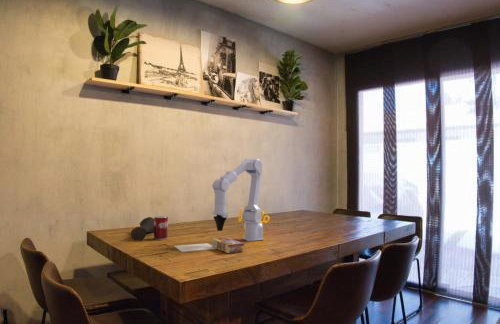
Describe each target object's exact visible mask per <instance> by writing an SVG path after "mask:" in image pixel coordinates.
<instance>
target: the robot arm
mask: <svg viewBox="0 0 500 324" xmlns="http://www.w3.org/2000/svg"><path fill="white" fill-rule="evenodd" d="M263 165H264V164H263V163H262V161H261V159H260V158H256V159H253V158H252V159H247V158H245V159H244V160H243V161H241V163H240V164H239V165H238V166H236V168H234V169H233V170H228V171H225V172H226V173H225V174H224V175H222V176H220V178H216V179H215V180H214V181H213V183H212V185H211V186H212V188H213V192H214V210H212V212H211V213H212V214H213V215H214V216H213V219H214V221H215V225H216V230H217V231H218V232H223V229H224V225H225V223H226V220H227V219H228V218H229V217H228V215H229V214H228V213H227V191H228V190H229V188H230V186H231V185H232V184H233V183H234V182H235V181H237V179H238V176H239V175H241V174H243V173H244V172H246V173H247V174H249V175H250V177H251V179H250V186H249V187H250V188H249V195H248V203H247V205H246V206H245V207H244V209H243V212H242V213H241V214H242V215H241V216H242V221H243V222H244V223H245V226H244V237H241V239H242V240H244V241H248V242H252V241H264V226H263V224H262V223H261V221H262V209H261V208H260V207H259V199H260V191H261V183H262V172H263Z"/></svg>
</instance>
